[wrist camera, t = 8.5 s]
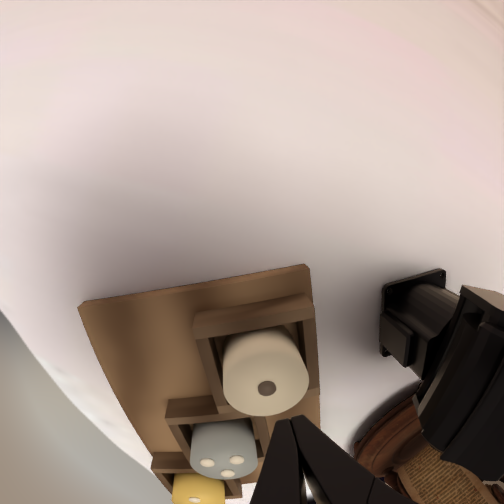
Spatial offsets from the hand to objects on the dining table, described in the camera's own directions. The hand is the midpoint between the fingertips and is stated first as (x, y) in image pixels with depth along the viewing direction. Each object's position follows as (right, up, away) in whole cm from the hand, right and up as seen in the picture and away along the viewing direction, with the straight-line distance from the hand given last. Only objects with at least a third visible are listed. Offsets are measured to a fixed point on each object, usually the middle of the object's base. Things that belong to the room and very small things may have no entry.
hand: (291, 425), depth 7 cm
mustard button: (-6, -16, +14) cm, 22 cm away
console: (-4, -8, +14) cm, 16 cm away
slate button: (-4, -9, +12) cm, 16 cm away
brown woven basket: (+17, -15, +17) cm, 28 cm away
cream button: (-1, -1, +11) cm, 11 cm away
